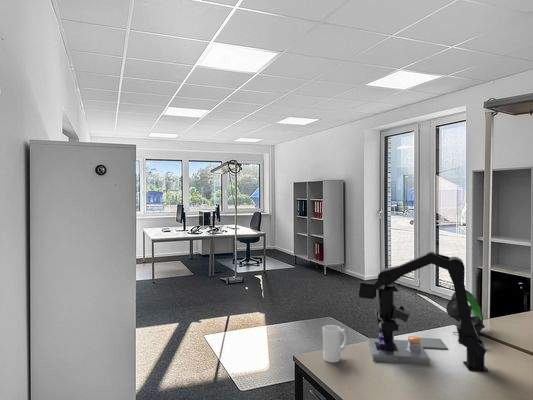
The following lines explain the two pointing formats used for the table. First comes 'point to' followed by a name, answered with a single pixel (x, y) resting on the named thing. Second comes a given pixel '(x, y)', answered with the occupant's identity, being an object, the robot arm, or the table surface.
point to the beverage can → (382, 344)
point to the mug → (333, 343)
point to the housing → (399, 352)
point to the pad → (432, 343)
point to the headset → (474, 305)
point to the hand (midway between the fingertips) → (386, 340)
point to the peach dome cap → (414, 340)
